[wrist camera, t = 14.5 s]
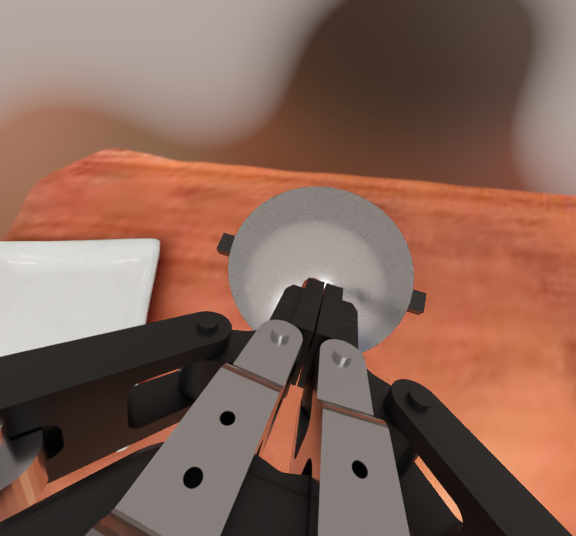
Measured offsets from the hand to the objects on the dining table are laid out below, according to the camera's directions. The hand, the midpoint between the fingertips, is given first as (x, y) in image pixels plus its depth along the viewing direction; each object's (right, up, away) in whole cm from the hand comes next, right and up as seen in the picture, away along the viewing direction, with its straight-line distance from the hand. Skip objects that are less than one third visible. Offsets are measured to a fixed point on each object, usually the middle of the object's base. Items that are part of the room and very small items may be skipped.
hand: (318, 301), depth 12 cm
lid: (+2, +1, +21) cm, 21 cm away
